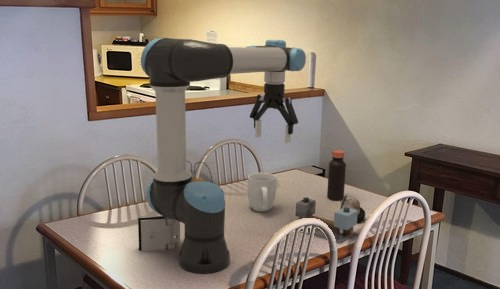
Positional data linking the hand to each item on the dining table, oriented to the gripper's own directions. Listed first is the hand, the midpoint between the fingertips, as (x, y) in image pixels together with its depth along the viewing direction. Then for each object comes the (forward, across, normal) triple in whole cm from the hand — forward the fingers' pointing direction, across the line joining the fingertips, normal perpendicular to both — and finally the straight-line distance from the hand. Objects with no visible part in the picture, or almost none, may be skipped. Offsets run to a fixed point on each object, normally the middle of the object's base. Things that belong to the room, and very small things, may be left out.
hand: (272, 139), depth 187 cm
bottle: (+28, -14, -28) cm, 41 cm away
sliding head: (+26, -33, +4) cm, 43 cm away
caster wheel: (+28, -29, -13) cm, 42 cm away
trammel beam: (+27, -26, +3) cm, 38 cm away
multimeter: (+28, +22, +19) cm, 40 cm away
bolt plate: (+27, -26, +8) cm, 38 cm away
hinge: (+28, +8, +50) cm, 58 cm away
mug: (+28, +2, +3) cm, 28 cm away
